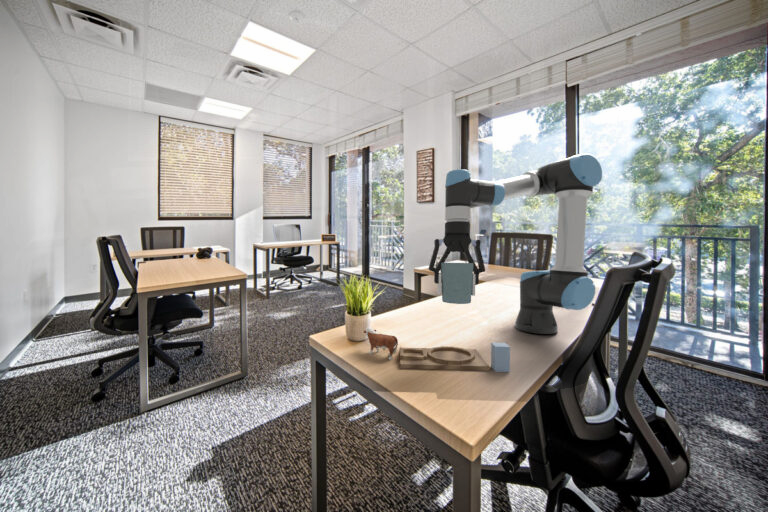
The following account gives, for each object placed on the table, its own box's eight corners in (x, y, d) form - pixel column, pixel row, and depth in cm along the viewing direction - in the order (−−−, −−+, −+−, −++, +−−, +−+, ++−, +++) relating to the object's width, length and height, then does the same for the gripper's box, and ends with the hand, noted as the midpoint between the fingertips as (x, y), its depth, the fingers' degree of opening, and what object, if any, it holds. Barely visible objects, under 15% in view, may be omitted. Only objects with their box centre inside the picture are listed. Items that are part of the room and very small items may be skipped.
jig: (475, 352, 105) (475, 346, 105) (489, 370, 89) (489, 362, 89) (400, 351, 106) (400, 344, 106) (400, 368, 90) (400, 360, 90)
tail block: (505, 366, 92) (505, 342, 92) (509, 372, 88) (509, 346, 88) (491, 366, 92) (491, 342, 92) (495, 371, 88) (495, 346, 88)
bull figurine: (368, 349, 108) (368, 325, 108) (400, 358, 99) (400, 332, 99) (359, 353, 104) (359, 328, 104) (391, 362, 96) (392, 335, 96)
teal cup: (457, 305, 90) (458, 263, 90) (432, 300, 98) (433, 262, 98) (479, 302, 96) (480, 263, 96) (454, 298, 104) (454, 262, 104)
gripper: (490, 223, 100) (489, 294, 100) (420, 222, 101) (418, 292, 101) (497, 220, 93) (496, 297, 93) (422, 219, 94) (420, 295, 94)
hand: (455, 294), depth 97 cm, fingers closed on teal cup, 9 cm apart
